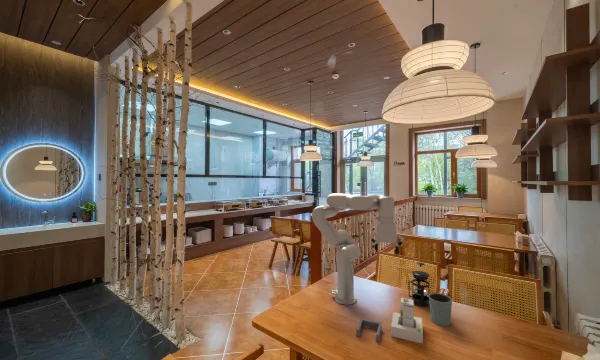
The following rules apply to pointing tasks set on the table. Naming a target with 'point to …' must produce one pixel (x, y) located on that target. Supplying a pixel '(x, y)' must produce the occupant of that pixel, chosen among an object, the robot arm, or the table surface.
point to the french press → (420, 288)
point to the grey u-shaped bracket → (371, 325)
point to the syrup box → (407, 312)
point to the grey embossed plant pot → (440, 308)
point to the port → (407, 329)
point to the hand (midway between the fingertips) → (386, 252)
